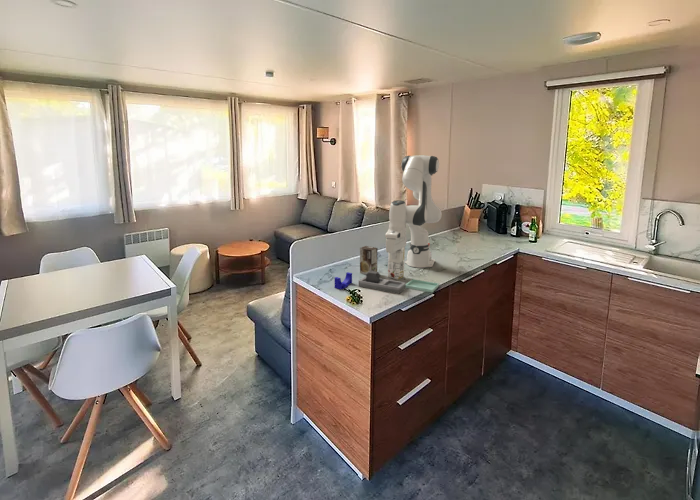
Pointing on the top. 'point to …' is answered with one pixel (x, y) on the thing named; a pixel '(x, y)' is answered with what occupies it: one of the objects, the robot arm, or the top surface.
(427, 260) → the robot arm
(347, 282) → the cable clip
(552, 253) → the top surface
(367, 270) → the coffee box
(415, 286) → the tray
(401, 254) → the plug
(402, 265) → the juice carton
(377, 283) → the grey compartment holder
